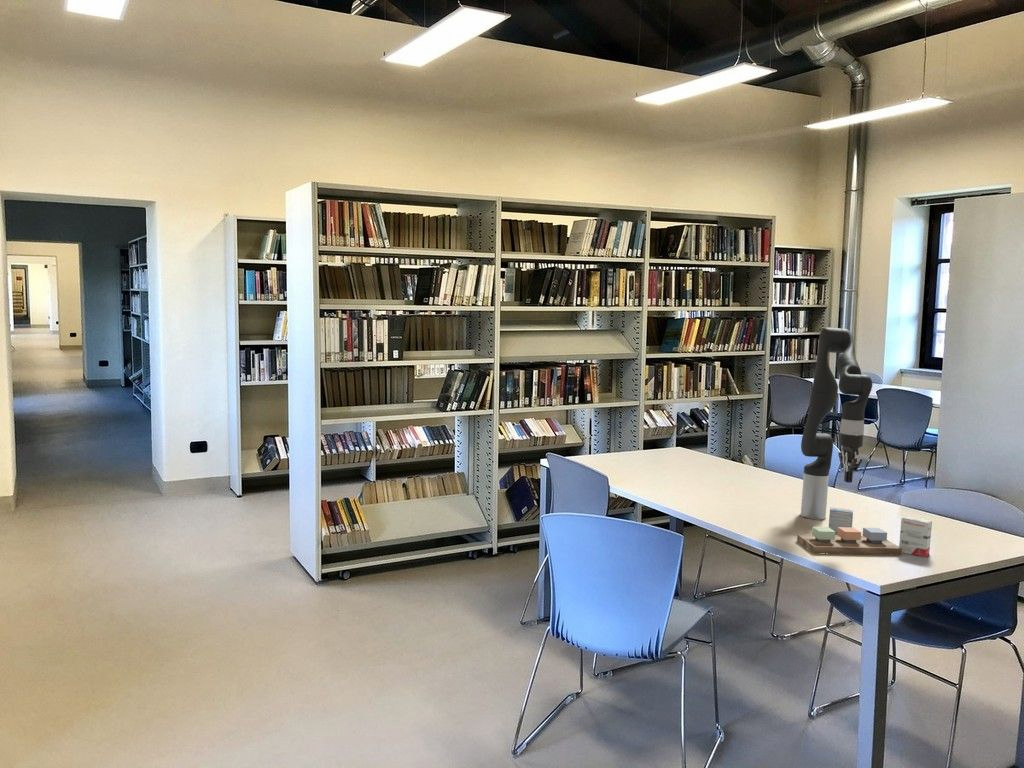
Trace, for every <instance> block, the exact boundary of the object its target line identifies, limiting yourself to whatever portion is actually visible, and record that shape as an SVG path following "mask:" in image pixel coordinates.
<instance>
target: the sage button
mask: <svg viewBox="0 0 1024 768" xmlns="http://www.w3.org/2000/svg"><path fill="white" fill-rule="evenodd" d="M811 535H813V536H814V537H816V538H817V539H821V540H835V535H836V533H835V531H834V530H832V529H830V528H829V526H812V527H811Z"/></svg>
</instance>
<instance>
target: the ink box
mask: <svg viewBox="0 0 1024 768" xmlns="http://www.w3.org/2000/svg"><path fill="white" fill-rule="evenodd" d="M932 526H933V521H932V520H929V519H922V518H917V517H913V516H904V517H901V521H900V533H899V545H898V546H899V547H900V548H902V553H905V554H909V555H914V556H918V557H923V558H926V557H928V556H929V555H930V550H931V549H930V548H931V538H932Z"/></svg>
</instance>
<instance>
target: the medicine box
mask: <svg viewBox="0 0 1024 768" xmlns="http://www.w3.org/2000/svg"><path fill="white" fill-rule="evenodd" d="M853 515H854V510H853V509H850V508H841V507H833V506H831V507H830V508H829V516H828V527H829V528H830V529H832V530H834V531H835V534H837V530H838V527H853V522H854V521H853V520H854V516H853Z"/></svg>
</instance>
